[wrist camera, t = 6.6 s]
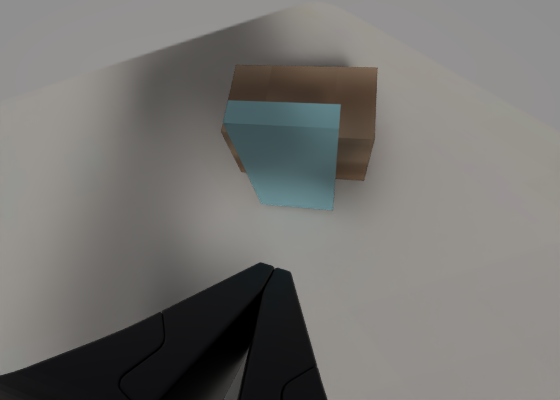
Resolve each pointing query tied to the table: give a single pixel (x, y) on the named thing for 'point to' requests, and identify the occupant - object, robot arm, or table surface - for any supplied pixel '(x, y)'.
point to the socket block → (321, 90)
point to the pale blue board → (287, 150)
